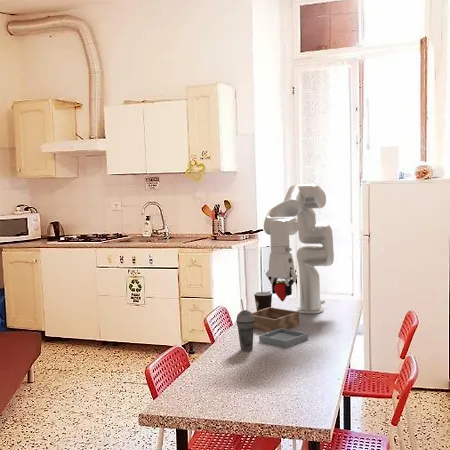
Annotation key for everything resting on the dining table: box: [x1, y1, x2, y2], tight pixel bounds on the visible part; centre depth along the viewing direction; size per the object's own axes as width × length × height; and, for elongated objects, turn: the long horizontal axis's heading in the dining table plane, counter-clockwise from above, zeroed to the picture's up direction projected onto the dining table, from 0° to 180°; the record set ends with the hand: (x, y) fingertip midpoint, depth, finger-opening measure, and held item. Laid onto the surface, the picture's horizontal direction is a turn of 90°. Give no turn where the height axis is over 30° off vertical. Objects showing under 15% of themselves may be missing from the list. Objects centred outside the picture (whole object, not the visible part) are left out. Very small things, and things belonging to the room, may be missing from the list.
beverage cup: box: [235, 298, 255, 353], centre depth 230 cm, size 7×7×20 cm
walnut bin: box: [251, 306, 301, 333], centre depth 263 cm, size 17×17×6 cm
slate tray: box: [258, 328, 309, 349], centre depth 241 cm, size 14×14×2 cm
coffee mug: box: [253, 291, 273, 311], centre depth 287 cm, size 12×9×10 cm
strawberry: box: [274, 280, 287, 302], centre depth 239 cm, size 6×8×10 cm
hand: (282, 293), depth 239 cm, fingers closed on strawberry, 6 cm apart
